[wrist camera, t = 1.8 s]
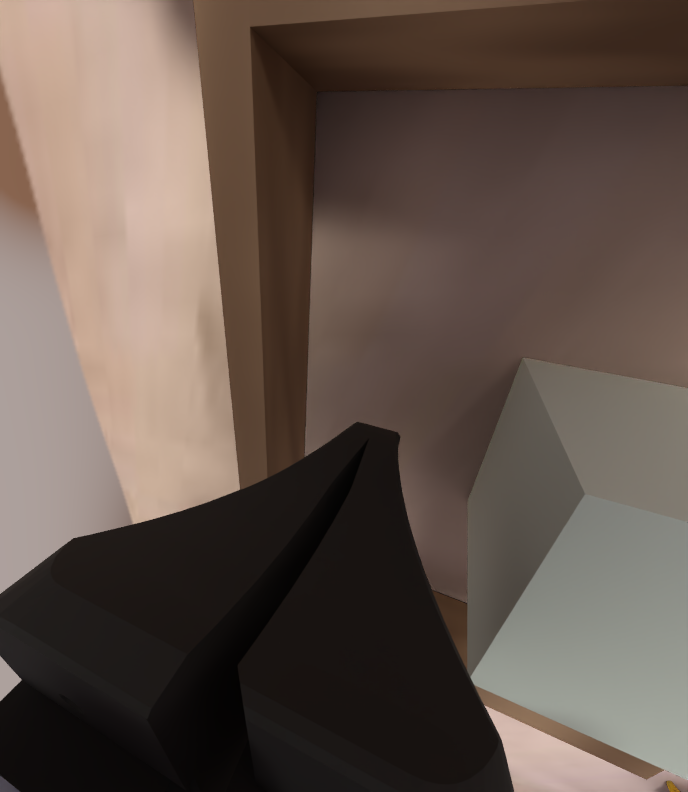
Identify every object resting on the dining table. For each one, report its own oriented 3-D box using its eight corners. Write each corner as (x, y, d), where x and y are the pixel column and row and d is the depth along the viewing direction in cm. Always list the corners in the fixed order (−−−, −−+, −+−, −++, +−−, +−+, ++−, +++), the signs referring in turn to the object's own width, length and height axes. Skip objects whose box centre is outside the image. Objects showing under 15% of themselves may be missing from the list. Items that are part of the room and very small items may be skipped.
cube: (779, 403, 8) (1329, 698, 3) (649, 554, 11) (808, 834, 6) (522, 356, 9) (585, 494, 4) (467, 499, 12) (467, 682, 7)
